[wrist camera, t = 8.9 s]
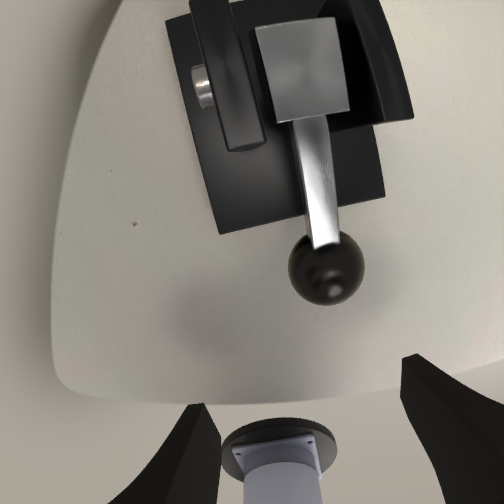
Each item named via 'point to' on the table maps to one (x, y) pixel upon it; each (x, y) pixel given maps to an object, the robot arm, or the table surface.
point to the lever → (311, 147)
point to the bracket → (259, 119)
